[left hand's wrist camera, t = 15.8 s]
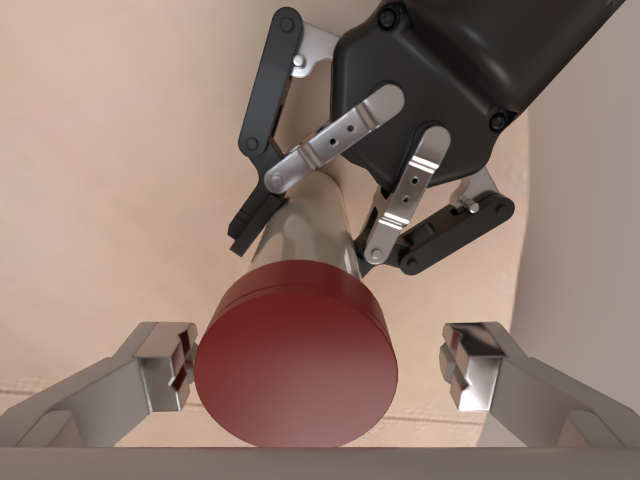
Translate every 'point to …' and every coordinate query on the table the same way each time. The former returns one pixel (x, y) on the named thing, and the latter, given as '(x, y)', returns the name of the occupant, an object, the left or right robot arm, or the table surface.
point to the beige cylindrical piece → (310, 227)
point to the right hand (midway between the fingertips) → (278, 272)
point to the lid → (296, 357)
